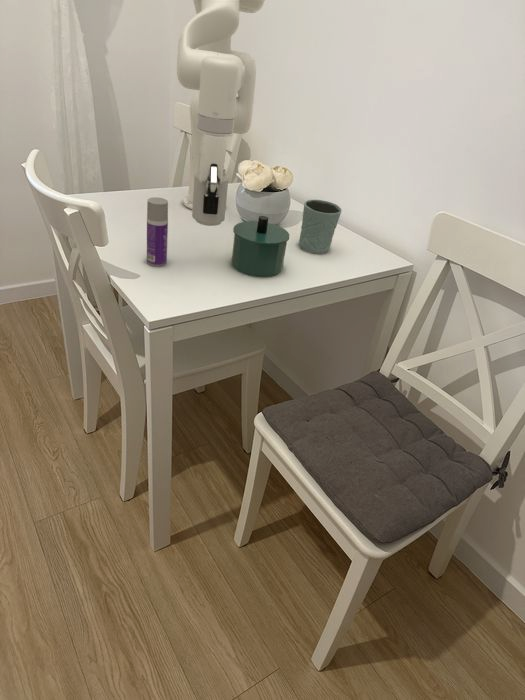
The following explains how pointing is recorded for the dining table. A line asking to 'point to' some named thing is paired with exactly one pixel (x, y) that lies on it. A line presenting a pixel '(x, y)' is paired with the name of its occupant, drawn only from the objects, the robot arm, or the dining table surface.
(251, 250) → the pot
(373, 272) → the dining table surface
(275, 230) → the pot lid
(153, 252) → the container
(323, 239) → the green textured cup
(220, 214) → the can
